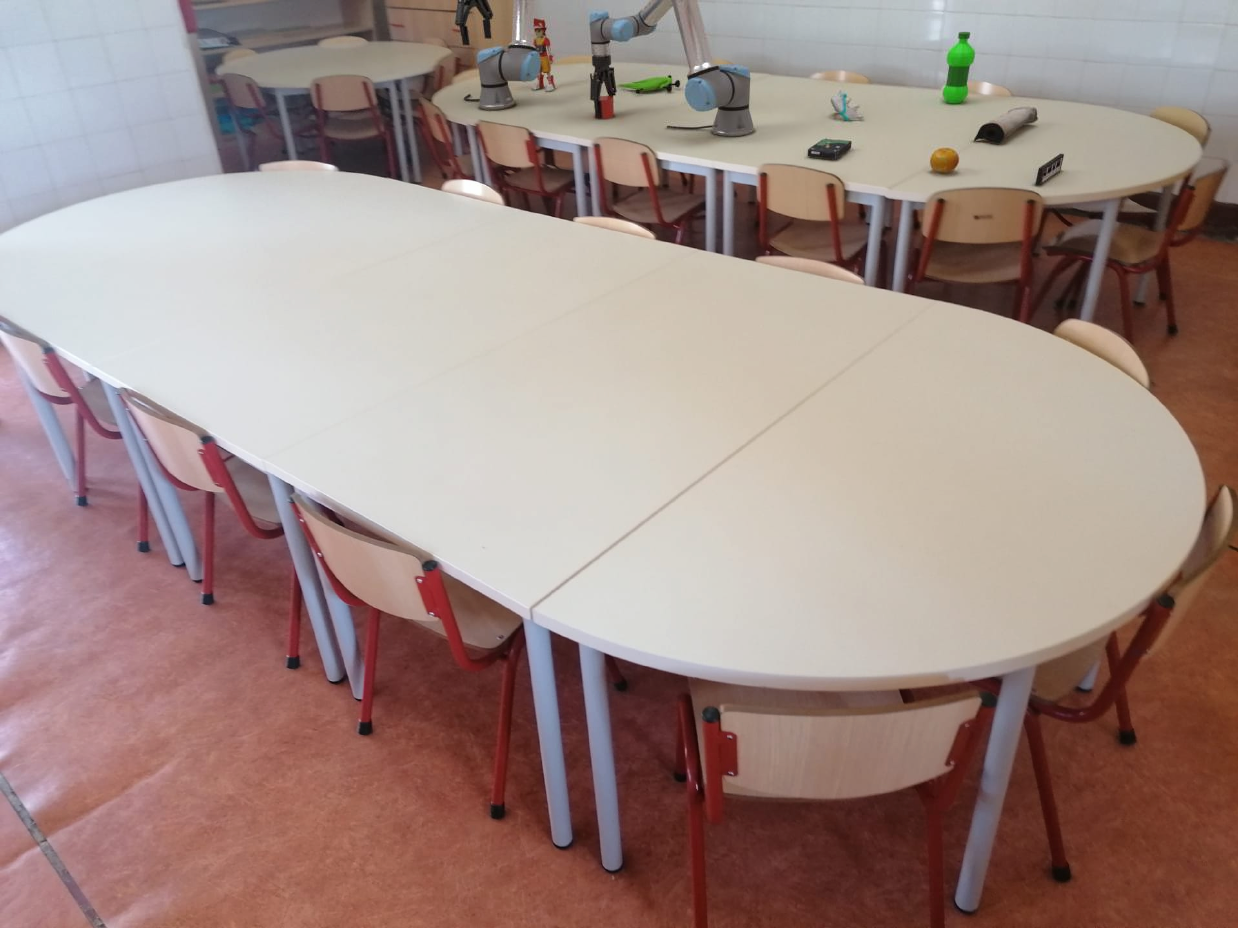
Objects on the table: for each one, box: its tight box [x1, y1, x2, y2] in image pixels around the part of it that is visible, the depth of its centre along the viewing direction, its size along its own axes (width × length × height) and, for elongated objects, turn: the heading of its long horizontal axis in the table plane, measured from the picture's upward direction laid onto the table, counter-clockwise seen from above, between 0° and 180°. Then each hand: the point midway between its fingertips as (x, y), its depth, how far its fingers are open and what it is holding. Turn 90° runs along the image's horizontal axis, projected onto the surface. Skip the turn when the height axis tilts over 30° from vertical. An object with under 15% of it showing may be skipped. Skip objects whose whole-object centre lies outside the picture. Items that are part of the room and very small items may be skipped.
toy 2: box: [616, 74, 681, 95], centre depth 401 cm, size 28×5×30 cm
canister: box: [599, 95, 615, 120], centre depth 363 cm, size 8×8×7 cm
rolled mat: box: [973, 106, 1039, 145], centre depth 314 cm, size 30×9×10 cm
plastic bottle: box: [942, 31, 976, 104], centre depth 348 cm, size 10×10×25 cm
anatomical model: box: [830, 89, 864, 121], centre depth 343 cm, size 15×10×10 cm
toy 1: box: [532, 17, 556, 92], centre depth 403 cm, size 12×9×30 cm
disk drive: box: [807, 138, 852, 160], centre depth 306 cm, size 10×3×15 cm
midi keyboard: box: [1035, 153, 1065, 186], centre depth 273 cm, size 18×1×5 cm, turn 138°
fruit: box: [929, 147, 960, 174], centre depth 283 cm, size 8×8×8 cm
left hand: (477, 42), depth 342 cm, fingers open, 13 cm apart
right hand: (604, 115), depth 365 cm, fingers open, 8 cm apart
